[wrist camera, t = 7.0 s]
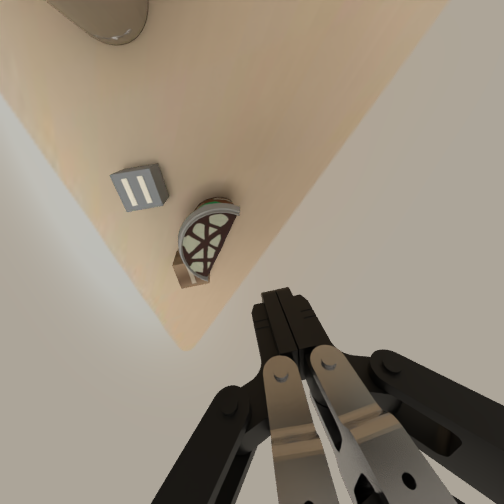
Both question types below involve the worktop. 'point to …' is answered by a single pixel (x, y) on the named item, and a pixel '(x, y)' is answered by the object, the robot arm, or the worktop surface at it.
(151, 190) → the slate block
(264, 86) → the worktop surface
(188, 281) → the walnut block
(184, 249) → the food container
